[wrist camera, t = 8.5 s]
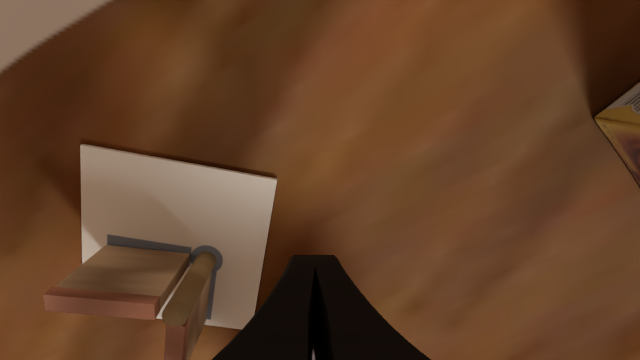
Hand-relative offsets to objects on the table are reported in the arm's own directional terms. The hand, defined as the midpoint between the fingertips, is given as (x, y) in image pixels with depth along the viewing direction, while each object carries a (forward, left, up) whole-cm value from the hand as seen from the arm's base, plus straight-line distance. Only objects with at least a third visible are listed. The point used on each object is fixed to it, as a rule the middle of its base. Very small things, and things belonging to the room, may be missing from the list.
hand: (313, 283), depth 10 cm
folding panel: (-6, +9, -9) cm, 15 cm away
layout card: (-6, +8, -10) cm, 14 cm away
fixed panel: (-8, +5, -10) cm, 14 cm away
